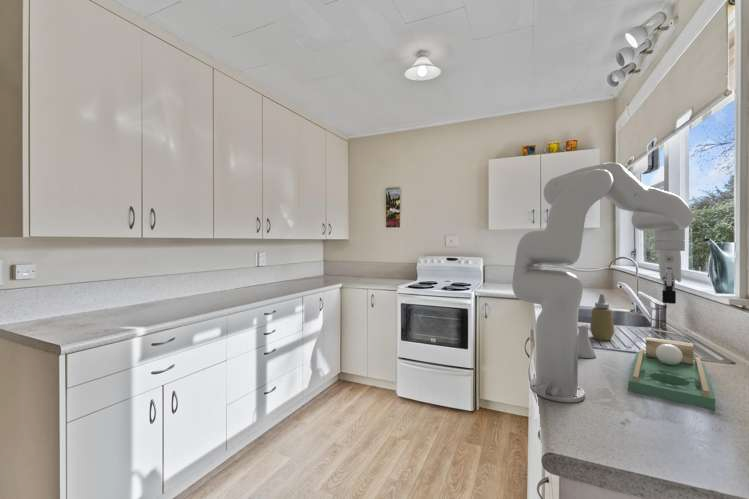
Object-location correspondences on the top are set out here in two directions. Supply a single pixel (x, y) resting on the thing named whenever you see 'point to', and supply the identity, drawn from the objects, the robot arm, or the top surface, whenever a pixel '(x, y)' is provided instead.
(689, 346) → the tan wooden block
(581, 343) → the flask
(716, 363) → the top surface
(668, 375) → the putting mat
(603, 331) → the squeeze bottle
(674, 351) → the ball
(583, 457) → the top surface
